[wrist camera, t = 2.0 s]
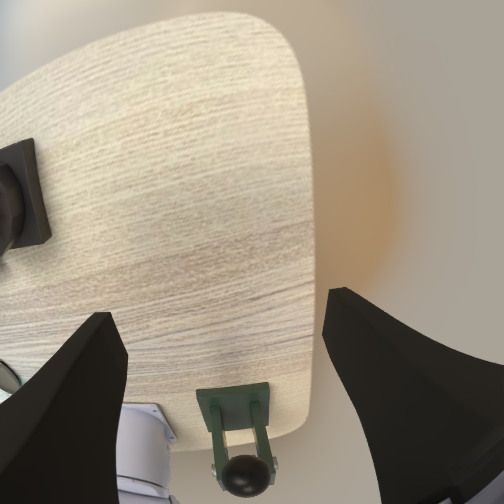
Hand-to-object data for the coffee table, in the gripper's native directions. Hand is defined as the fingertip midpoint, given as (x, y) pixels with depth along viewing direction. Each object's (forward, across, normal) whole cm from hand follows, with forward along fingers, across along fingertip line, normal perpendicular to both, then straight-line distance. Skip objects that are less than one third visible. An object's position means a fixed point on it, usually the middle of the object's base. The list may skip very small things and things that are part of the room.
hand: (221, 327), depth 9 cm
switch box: (+10, +16, -4) cm, 19 cm away
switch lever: (+2, 0, +15) cm, 15 cm away
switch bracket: (+10, 0, +21) cm, 23 cm away
